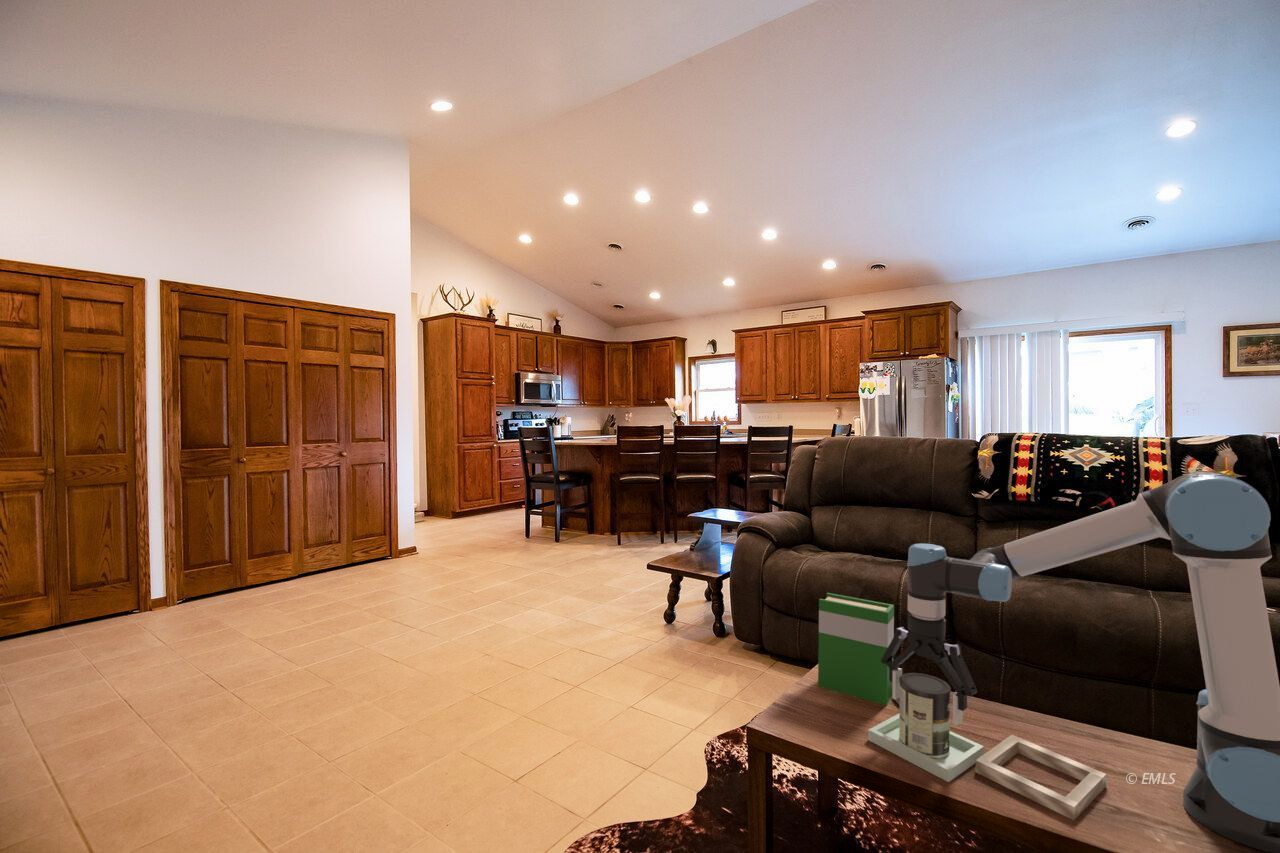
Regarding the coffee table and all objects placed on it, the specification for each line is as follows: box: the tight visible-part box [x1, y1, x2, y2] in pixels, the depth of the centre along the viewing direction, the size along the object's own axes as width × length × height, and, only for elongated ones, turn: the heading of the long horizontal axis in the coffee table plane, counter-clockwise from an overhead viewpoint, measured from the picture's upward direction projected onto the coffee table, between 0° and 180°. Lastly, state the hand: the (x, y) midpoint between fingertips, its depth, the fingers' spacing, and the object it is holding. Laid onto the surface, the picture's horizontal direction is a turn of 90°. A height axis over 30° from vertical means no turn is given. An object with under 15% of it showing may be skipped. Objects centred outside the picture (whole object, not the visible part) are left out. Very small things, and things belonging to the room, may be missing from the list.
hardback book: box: [817, 592, 895, 707], centre depth 152 cm, size 18×7×24 cm, turn 55°
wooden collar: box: [975, 734, 1107, 821], centre depth 114 cm, size 17×17×2 cm
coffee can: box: [898, 672, 952, 759], centre depth 125 cm, size 10×10×14 cm
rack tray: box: [867, 713, 985, 783], centre depth 125 cm, size 18×15×2 cm
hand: (926, 710), depth 125 cm, fingers open, 13 cm apart
